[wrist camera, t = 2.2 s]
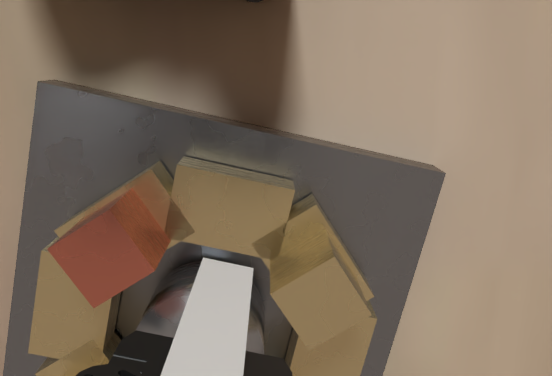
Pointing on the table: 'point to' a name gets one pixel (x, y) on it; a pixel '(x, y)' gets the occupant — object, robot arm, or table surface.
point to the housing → (187, 256)
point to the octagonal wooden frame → (212, 233)
